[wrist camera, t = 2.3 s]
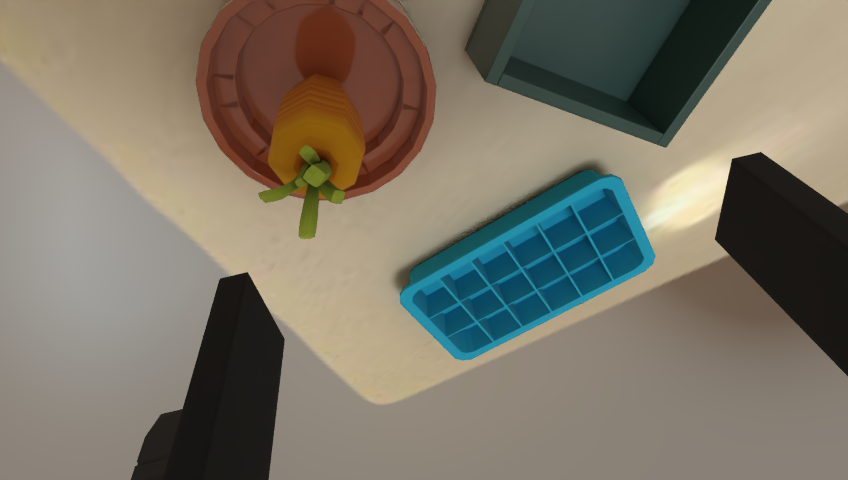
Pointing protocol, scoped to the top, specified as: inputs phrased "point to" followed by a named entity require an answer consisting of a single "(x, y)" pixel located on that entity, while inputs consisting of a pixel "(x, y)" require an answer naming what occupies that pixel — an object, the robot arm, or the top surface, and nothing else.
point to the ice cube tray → (529, 265)
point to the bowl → (317, 54)
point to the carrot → (315, 146)
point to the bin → (612, 55)
